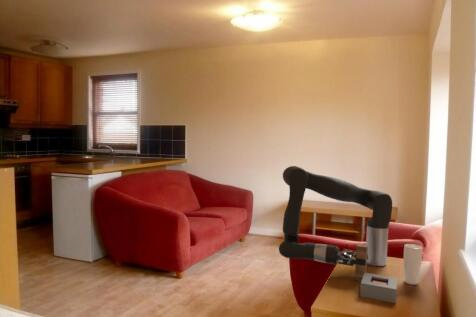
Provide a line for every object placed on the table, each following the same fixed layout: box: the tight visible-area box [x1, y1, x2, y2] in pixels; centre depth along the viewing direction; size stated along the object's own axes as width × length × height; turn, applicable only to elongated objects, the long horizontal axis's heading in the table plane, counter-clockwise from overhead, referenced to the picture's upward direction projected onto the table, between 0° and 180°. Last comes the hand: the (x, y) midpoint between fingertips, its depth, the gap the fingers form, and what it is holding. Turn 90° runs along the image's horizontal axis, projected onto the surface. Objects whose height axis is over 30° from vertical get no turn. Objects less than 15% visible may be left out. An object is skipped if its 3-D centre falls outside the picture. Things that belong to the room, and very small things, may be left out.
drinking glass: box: [403, 243, 423, 286], centre depth 155 cm, size 7×7×15 cm
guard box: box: [359, 272, 398, 304], centre depth 143 cm, size 12×12×5 cm
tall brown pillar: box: [354, 243, 368, 281], centre depth 157 cm, size 4×4×14 cm
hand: (366, 260), depth 156 cm, fingers open, 7 cm apart
